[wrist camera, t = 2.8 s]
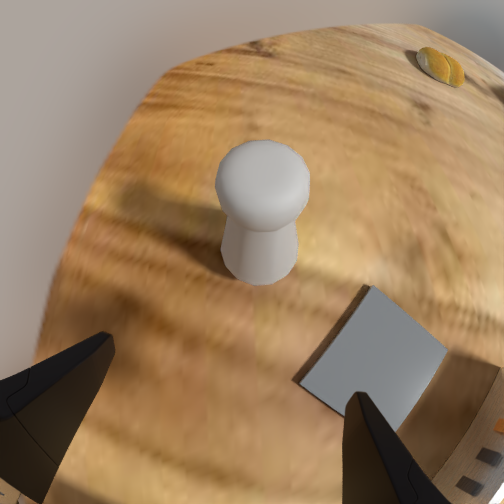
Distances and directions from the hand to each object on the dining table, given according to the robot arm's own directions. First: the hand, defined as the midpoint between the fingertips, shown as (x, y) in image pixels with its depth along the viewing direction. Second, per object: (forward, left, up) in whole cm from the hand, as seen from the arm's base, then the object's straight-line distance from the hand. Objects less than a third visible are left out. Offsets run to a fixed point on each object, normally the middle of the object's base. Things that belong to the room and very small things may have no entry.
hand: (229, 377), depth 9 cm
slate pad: (+6, -10, -13) cm, 17 cm away
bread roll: (+51, +2, -14) cm, 53 cm away
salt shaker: (+7, +4, -13) cm, 16 cm away
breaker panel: (+6, -25, -13) cm, 29 cm away
